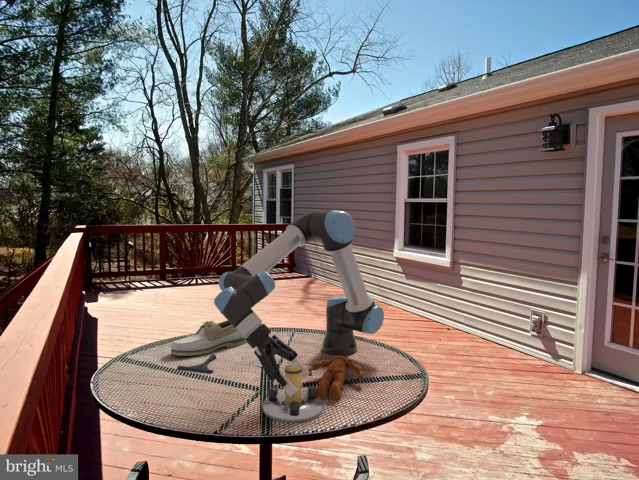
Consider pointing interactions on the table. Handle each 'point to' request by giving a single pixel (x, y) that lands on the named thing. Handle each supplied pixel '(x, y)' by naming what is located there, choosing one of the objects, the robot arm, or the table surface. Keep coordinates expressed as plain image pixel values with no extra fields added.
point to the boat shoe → (208, 339)
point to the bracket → (200, 366)
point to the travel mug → (294, 382)
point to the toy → (334, 375)
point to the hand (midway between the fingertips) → (300, 384)
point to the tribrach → (293, 406)
